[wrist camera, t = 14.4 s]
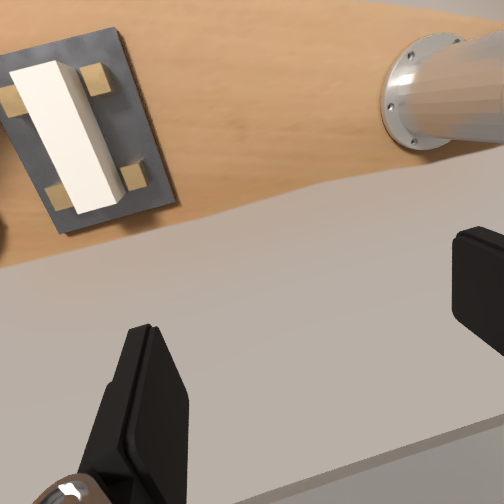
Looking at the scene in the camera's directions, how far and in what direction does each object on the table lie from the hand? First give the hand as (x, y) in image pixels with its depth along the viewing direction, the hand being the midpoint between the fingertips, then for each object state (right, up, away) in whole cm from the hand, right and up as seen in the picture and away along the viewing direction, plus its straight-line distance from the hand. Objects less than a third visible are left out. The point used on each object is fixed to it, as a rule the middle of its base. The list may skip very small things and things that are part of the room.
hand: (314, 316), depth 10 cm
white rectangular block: (-20, +14, +25) cm, 35 cm away
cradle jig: (-20, +14, +26) cm, 36 cm away
